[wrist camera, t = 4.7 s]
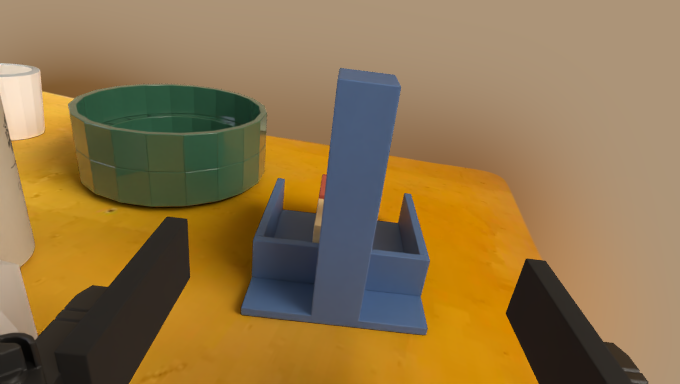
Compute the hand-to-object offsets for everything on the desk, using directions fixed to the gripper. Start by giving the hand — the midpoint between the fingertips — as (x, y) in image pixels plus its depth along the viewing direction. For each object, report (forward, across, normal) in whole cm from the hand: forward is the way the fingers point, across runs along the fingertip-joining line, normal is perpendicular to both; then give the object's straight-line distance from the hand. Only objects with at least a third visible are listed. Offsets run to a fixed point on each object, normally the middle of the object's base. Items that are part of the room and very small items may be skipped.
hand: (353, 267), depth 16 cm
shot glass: (+31, -37, -9) cm, 49 cm away
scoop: (+13, 0, -9) cm, 16 cm away
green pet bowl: (+26, -17, -9) cm, 32 cm away
